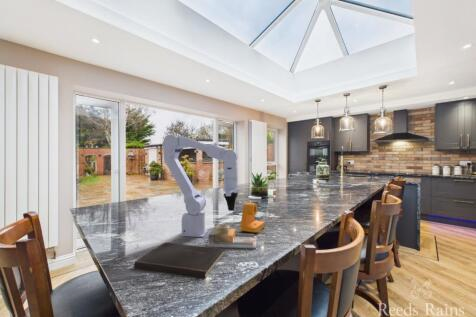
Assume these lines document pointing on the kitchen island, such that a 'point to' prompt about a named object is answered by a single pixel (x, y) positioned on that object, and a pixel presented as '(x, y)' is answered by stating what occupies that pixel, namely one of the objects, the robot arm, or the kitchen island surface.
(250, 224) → the bracket
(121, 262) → the kitchen island surface
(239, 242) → the vise base
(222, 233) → the maple block
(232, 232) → the sliding jaw
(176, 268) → the dark brown flat slab
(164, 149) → the robot arm
